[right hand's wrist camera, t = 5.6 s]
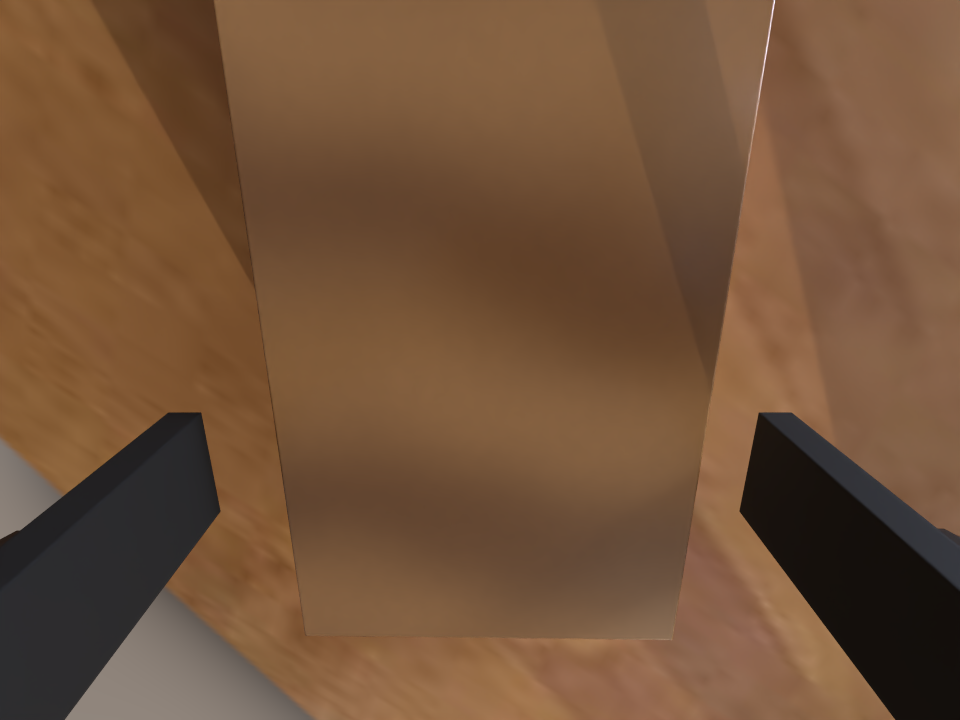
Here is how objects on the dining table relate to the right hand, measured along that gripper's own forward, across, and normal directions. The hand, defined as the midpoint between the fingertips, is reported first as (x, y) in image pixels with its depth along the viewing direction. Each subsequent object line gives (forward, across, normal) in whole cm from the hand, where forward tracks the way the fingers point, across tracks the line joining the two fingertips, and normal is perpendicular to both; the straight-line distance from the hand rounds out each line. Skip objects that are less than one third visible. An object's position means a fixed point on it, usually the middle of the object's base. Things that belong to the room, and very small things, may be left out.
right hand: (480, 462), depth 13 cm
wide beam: (+7, 0, -26) cm, 27 cm away
